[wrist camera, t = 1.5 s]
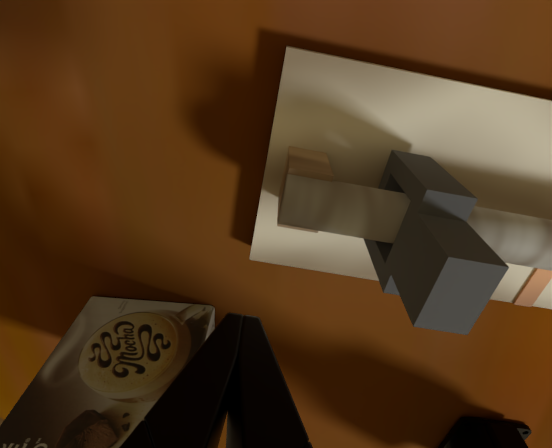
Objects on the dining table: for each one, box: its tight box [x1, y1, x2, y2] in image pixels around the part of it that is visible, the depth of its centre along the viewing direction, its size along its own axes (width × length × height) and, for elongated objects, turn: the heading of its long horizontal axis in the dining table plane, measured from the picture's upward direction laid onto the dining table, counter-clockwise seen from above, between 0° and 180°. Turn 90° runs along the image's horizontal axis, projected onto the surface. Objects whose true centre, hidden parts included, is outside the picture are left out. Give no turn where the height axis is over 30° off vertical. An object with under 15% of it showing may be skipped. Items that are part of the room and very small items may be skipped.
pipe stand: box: [249, 46, 552, 309], centre depth 18 cm, size 12×26×6 cm, turn 80°
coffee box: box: [0, 296, 215, 448], centre depth 20 cm, size 9×6×16 cm
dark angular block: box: [364, 150, 509, 335], centre depth 15 cm, size 5×2×8 cm, turn 170°
